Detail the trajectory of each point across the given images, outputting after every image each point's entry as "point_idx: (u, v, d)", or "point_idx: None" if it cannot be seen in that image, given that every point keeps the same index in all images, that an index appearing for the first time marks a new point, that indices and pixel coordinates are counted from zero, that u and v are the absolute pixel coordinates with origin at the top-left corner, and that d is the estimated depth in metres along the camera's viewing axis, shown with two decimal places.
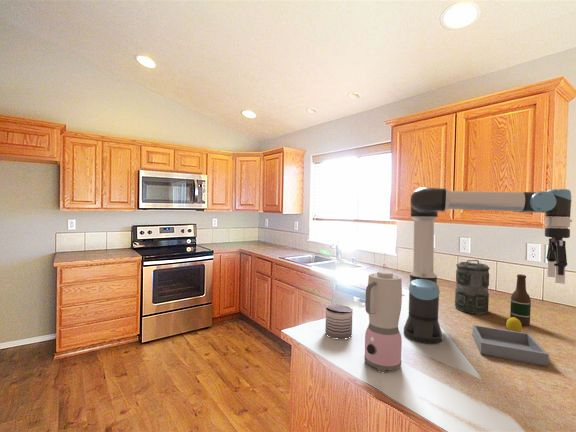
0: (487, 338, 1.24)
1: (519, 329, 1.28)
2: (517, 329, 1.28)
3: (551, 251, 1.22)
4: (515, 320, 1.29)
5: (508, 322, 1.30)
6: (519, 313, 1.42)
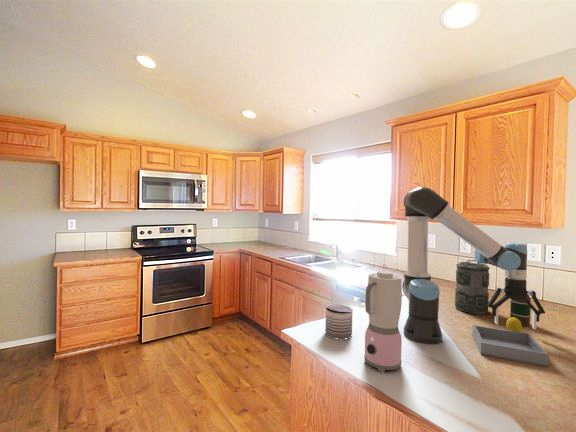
0: (487, 338, 1.24)
1: (519, 329, 1.28)
2: (517, 329, 1.28)
3: None
4: (515, 320, 1.29)
5: (508, 322, 1.30)
6: (519, 313, 1.42)
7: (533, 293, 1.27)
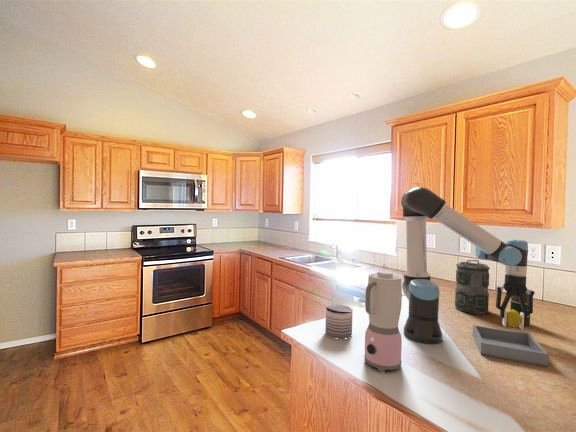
0: (487, 338, 1.24)
1: (518, 321, 1.28)
2: (516, 321, 1.28)
3: (519, 298, 1.30)
4: (514, 312, 1.29)
5: (507, 314, 1.30)
6: (519, 313, 1.42)
7: (532, 292, 1.27)
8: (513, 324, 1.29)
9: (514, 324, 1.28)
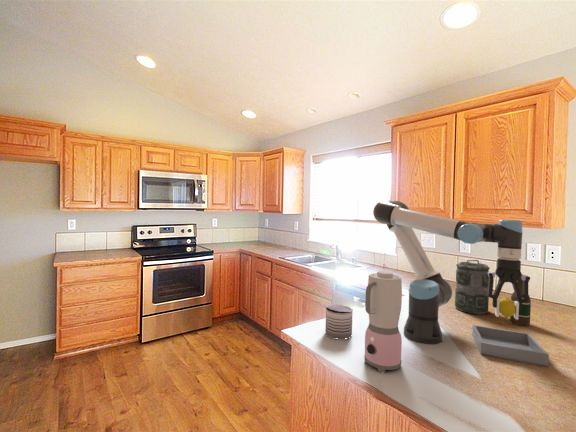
0: (487, 338, 1.24)
1: (512, 311, 1.14)
2: (510, 311, 1.14)
3: None
4: (508, 301, 1.15)
5: (500, 303, 1.16)
6: (519, 313, 1.42)
7: (527, 278, 1.13)
8: (507, 314, 1.15)
9: (508, 314, 1.14)
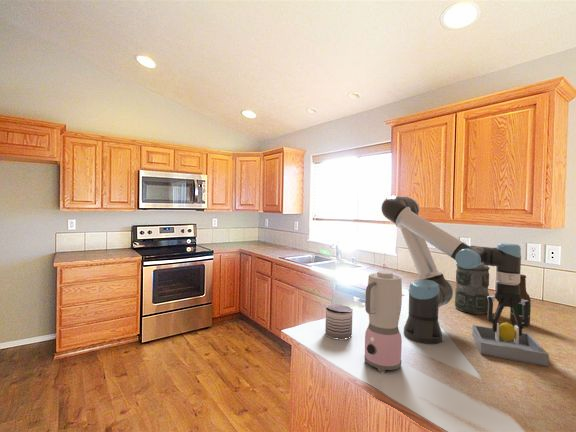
0: (487, 338, 1.24)
1: (512, 336, 1.13)
2: (510, 336, 1.13)
3: None
4: (508, 326, 1.14)
5: (500, 328, 1.16)
6: (519, 313, 1.42)
7: (526, 303, 1.12)
8: (507, 339, 1.14)
9: (508, 339, 1.14)
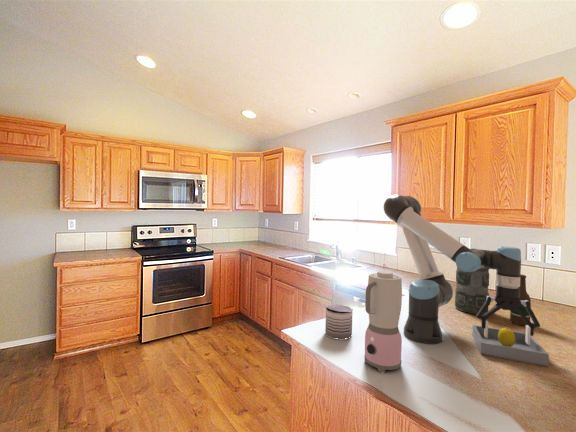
0: (487, 338, 1.24)
1: (512, 341, 1.13)
2: (510, 341, 1.13)
3: None
4: (508, 331, 1.14)
5: (500, 333, 1.16)
6: None
7: (527, 303, 1.12)
8: (506, 344, 1.14)
9: (507, 344, 1.14)
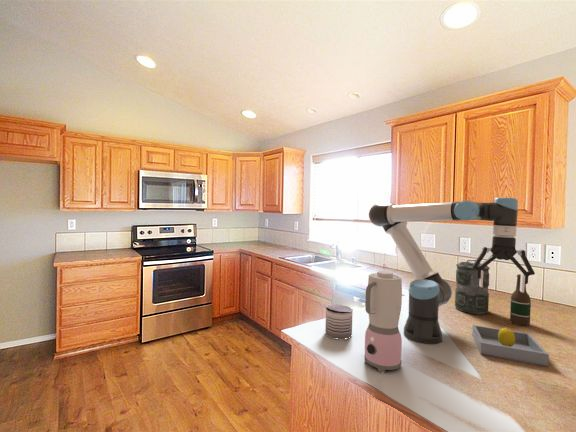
0: (487, 338, 1.24)
1: (512, 342, 1.13)
2: (510, 342, 1.13)
3: (513, 262, 1.17)
4: (508, 331, 1.14)
5: (500, 333, 1.16)
6: (519, 313, 1.42)
7: (522, 252, 1.14)
8: (506, 345, 1.14)
9: (507, 345, 1.14)
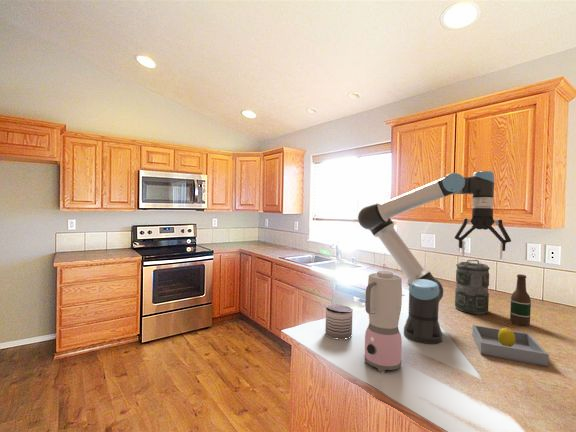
0: (487, 338, 1.24)
1: (512, 342, 1.13)
2: (510, 342, 1.13)
3: (491, 231, 1.25)
4: (508, 331, 1.14)
5: (500, 333, 1.16)
6: (519, 313, 1.42)
7: (499, 221, 1.22)
8: (506, 345, 1.14)
9: (507, 345, 1.14)
